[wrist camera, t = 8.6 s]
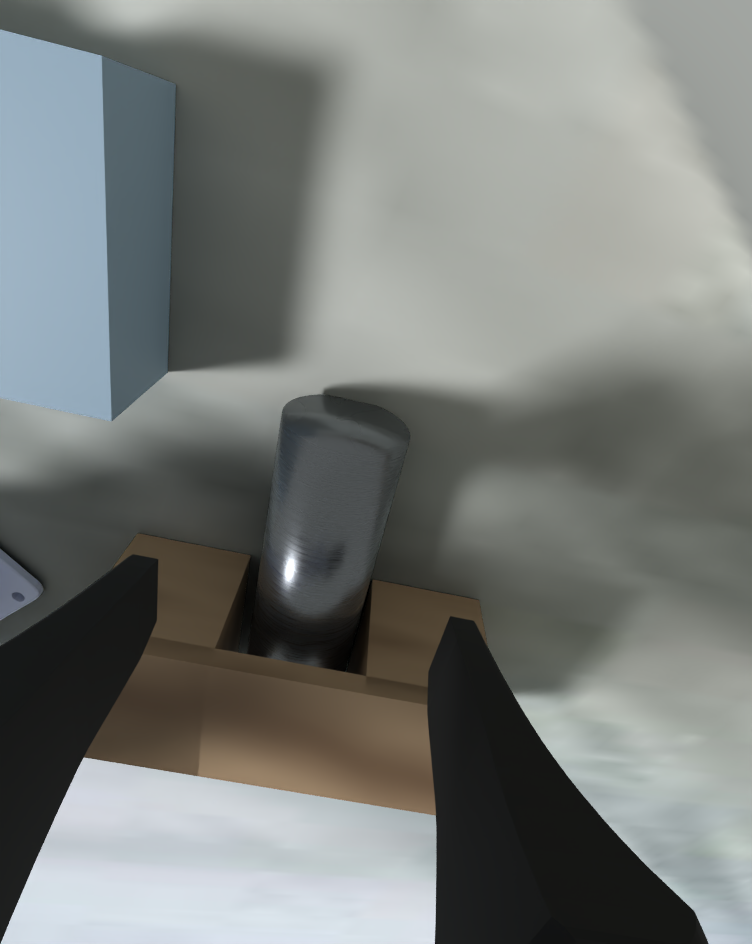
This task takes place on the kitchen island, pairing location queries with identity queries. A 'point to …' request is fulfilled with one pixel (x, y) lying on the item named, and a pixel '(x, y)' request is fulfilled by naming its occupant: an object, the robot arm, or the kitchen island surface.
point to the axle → (324, 527)
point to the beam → (279, 690)
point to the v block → (83, 227)
